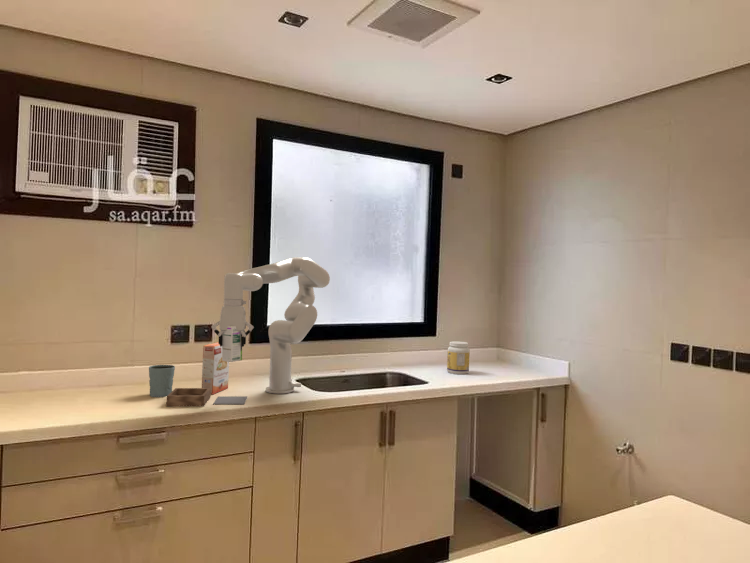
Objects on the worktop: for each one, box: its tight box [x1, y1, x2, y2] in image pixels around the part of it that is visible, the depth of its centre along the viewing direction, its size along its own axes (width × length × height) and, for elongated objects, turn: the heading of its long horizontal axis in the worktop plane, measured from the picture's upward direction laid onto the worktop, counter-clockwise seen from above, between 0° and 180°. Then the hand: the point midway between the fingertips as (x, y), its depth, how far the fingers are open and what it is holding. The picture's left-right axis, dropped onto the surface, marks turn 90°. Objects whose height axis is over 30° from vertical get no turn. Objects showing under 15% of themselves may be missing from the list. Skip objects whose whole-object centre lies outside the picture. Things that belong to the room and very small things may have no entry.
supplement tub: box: [446, 340, 471, 375], centre depth 290 cm, size 12×12×17 cm
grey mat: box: [212, 395, 248, 406], centre depth 212 cm, size 12×12×1 cm
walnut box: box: [166, 387, 212, 407], centre depth 208 cm, size 14×14×4 cm
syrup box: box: [222, 326, 243, 363], centre depth 211 cm, size 6×6×14 cm
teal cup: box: [148, 364, 176, 398], centre depth 219 cm, size 10×10×12 cm
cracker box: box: [201, 341, 230, 395], centre depth 228 cm, size 14×6×21 cm, turn 168°
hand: (232, 345), depth 212 cm, fingers closed on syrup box, 8 cm apart
